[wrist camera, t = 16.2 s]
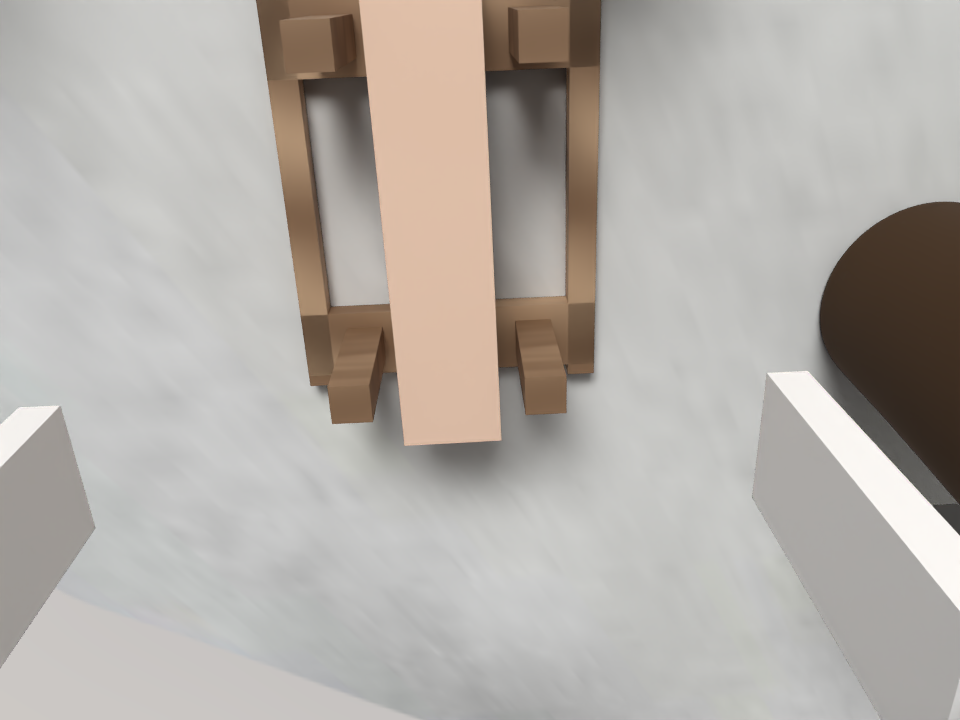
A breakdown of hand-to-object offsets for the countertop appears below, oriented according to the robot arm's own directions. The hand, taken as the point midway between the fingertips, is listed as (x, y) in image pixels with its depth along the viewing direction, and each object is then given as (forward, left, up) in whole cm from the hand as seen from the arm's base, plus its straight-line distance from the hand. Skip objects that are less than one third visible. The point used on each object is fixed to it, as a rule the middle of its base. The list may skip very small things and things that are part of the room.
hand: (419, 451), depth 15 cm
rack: (0, 0, -22) cm, 22 cm away
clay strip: (0, 0, -21) cm, 21 cm away
